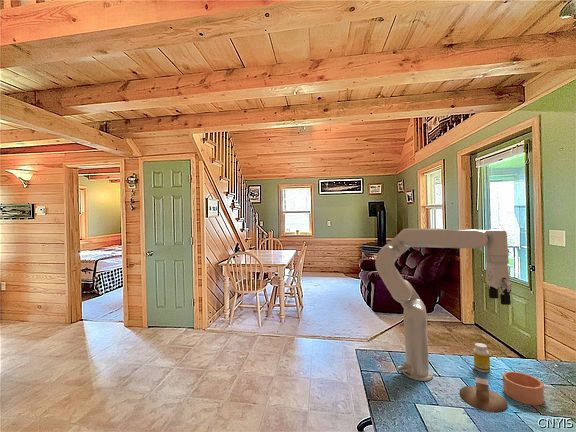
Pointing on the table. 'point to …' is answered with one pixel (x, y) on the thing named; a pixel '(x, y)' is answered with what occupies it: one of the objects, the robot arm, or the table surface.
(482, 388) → the walnut lid
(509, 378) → the terracotta bowl
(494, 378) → the table surface
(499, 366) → the table surface
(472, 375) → the table surface
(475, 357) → the pill bottle
